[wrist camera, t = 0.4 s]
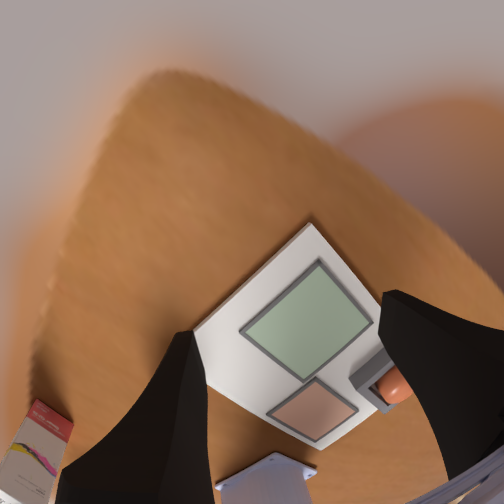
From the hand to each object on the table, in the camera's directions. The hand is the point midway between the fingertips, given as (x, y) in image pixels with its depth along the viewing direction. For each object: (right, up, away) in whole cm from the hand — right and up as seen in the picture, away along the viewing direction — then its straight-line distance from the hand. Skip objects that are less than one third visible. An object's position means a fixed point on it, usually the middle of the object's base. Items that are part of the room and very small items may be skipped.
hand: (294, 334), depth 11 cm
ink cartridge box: (-24, -15, +13) cm, 31 cm away
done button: (+11, -8, +14) cm, 20 cm away
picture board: (+4, -7, +14) cm, 16 cm away
